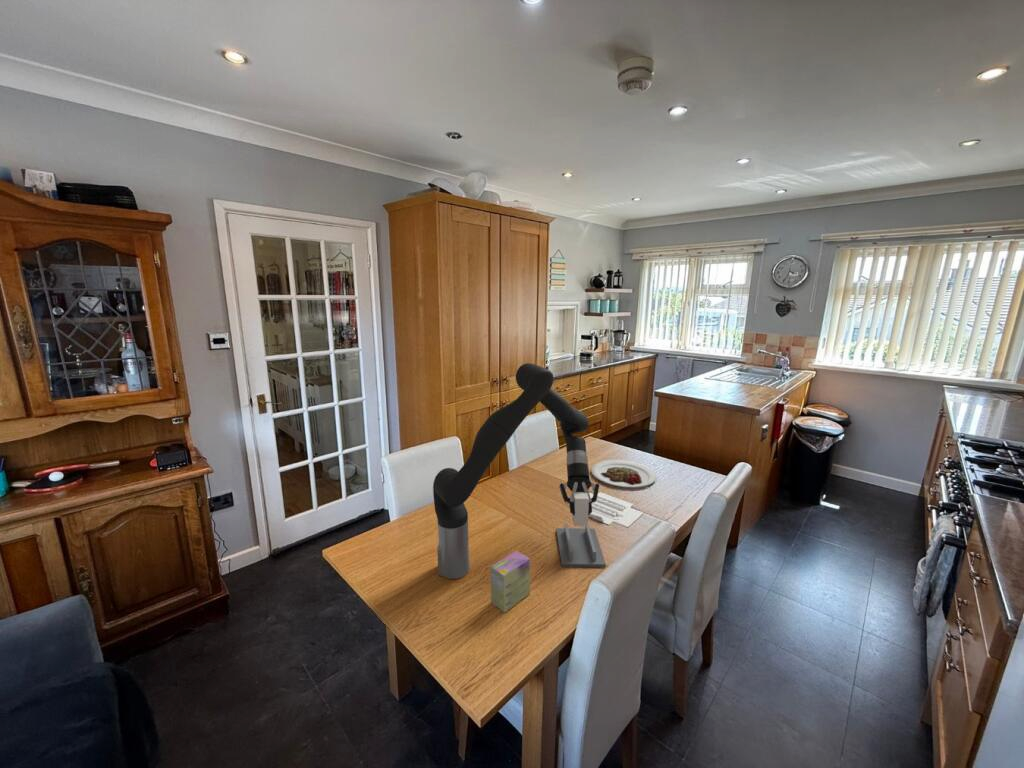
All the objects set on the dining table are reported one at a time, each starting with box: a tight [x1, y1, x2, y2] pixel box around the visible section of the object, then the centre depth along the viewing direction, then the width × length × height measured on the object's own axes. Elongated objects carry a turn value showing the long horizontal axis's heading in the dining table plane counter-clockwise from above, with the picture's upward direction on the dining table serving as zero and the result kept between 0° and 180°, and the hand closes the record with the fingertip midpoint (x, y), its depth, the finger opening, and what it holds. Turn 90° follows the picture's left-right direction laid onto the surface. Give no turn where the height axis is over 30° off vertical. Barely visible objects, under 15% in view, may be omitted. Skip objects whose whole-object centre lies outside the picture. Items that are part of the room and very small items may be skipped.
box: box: [489, 550, 531, 613], centre depth 114 cm, size 10×6×12 cm, turn 134°
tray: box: [565, 491, 644, 528], centre depth 164 cm, size 20×28×4 cm
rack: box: [555, 523, 607, 568], centre depth 138 cm, size 14×20×4 cm
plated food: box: [590, 459, 657, 489], centre depth 193 cm, size 30×30×3 cm
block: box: [572, 492, 589, 527], centre depth 135 cm, size 4×4×10 cm
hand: (581, 514), depth 133 cm, fingers closed on block, 4 cm apart
